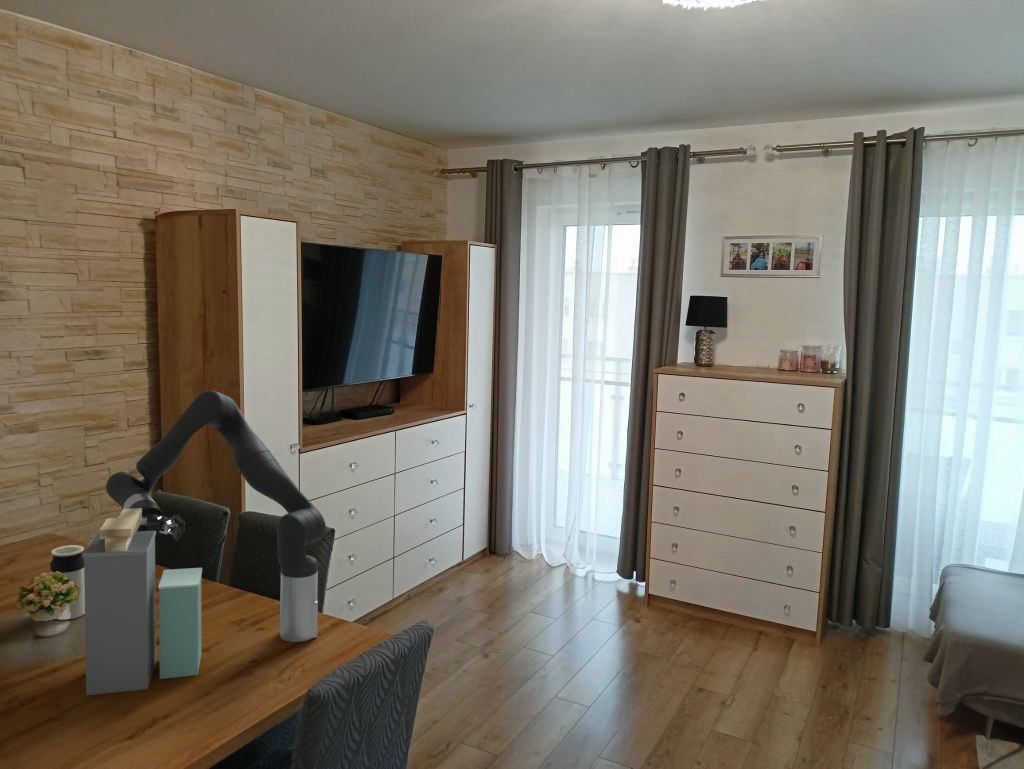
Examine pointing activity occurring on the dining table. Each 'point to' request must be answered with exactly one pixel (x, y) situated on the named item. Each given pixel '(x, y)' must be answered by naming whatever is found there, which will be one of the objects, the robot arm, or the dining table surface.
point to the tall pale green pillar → (180, 622)
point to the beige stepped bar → (121, 530)
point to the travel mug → (71, 572)
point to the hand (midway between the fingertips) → (159, 539)
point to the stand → (120, 615)
